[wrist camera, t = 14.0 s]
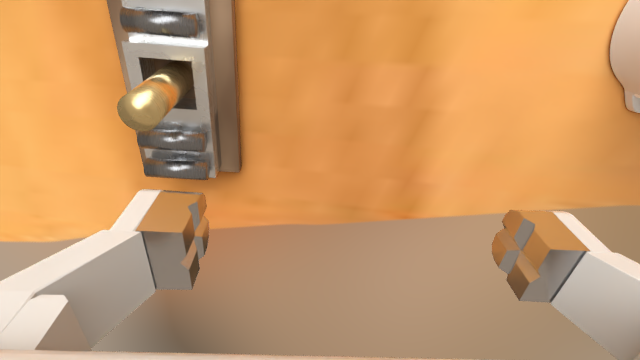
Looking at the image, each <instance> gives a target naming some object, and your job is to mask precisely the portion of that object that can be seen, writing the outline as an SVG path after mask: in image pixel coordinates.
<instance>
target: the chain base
mask: <svg viewBox="0 0 640 360" xmlns="http://www.w3.org/2000/svg"><path fill="white" fill-rule="evenodd" d="M107 4H108V9H109V13H110V18H111V22H112V27H113V31H114V36H115V40H116V45H117V49H118V54H119V58H120V63H121V67H122V72H123V76H124V81H125V85H126V90H127V93H128V92H130V91H131V90H132V89H131V84H130V80H129V75H128V70H127V66H126V61H125V56H124V52H123V47H122V41H124V40H126V39H128V38H129V36H128V33H127V32H125V31H124V30H123V28H122V26H121V23H120V10H121V8H122V7H123V6H122V1H121V0H107ZM209 10H210V23H211V35H212V48H213V61H214V73H215V86H216V99H217V111H218V124H219V137H220V149H221V162H222V164H221V167H220V169H219V171H224V172H240V169H241V143H240V120H239V97H238V74H237V50H236V27H235V4H234V0H209ZM153 61H154V67H155V73H156V72H157V71H158V70H160V69H161V68H162V67H164V66H165V65H166V64H168V63H169V62H171V61H174V60H169V59H156V58H153ZM180 61H181V60H180ZM183 62H185V63H187V64H188V65H189V66H190V67H191V68H192V61H183ZM182 98H192V99H196V97H195V88H194V85H193V86H192V88H191V89H190V90H189V91H188V92H187V93H186V94H185V95H184V96H183V97H182ZM136 135H138V131H137V130H136ZM139 148H140V147H139ZM140 153H141V157H142V162H143V166H144V163H145V160H146V155H145V150H144V148H140Z"/></svg>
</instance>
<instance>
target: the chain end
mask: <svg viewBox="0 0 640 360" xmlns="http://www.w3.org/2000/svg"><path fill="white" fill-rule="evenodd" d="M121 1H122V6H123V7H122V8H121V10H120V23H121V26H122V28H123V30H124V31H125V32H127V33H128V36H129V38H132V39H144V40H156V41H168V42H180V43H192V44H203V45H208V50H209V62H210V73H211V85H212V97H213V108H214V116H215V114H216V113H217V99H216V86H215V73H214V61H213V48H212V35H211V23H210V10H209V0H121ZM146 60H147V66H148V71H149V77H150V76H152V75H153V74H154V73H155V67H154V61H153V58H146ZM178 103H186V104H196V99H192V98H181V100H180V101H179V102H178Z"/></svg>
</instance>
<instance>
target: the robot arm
mask: <svg viewBox="0 0 640 360" xmlns="http://www.w3.org/2000/svg"><path fill="white" fill-rule="evenodd" d="M610 62H611V67H612V70H613V72H614V74H615V76H616V77H617V79H618V80H619V81H620V83H621V84H622V85H623V87H624V90H625V104H626V107H627V109H628V110H630V111H633V112H636V113H640V0H629V1H628V2H627V4H626V6H625V7H624V9H623V11H622V13H621V15H620V17H619V19H618V21H617V23H616V26H615V29H614V32H613V35H612V39H611V45H610ZM206 207H207V205H206V199H205V195H204V194H203V193H194V192H180V191H166V190H164V191H162V190H149V189H143V190H140V191H138V193H137V194H136V195H135V197H134V198H133V199H132V201H131V202H130V203H129V205H128V206H127V207H126V209H125V210H124V211H123V213H122V214H121V215H120V217H119V218H118V219H117V221H116V222H115V223H114V225H113V226H112V227H111V229H110V230H102V231H100V232H98V233H96V234H94V235H92V236H90V237H88V238H86V239H84V240H82V241H80V242H78V243H76V244H74V245H72V246H70V247H68V248H66V249H64V250H62V251H60V252H58V253H56V254H54V255H52V256H50V257H48V258H46V259H44V260H42V261H40V262H38V263H36V264H34V265H32V266H30V267H28V268H26V269H24V270H23V271H20V272H18V273H16V274H14V275H12V276H10V277H8V278H6V279H4V280H2V281H1V282H0V360H482V359H440V358H438V359H437V358H391V357H346V356H299V355H251V354H250V355H249V354H202V353H155V352H108V351H91V348H92V347H94V346H95V345H96V344H97V343H98V342H99V341H100V340H102V339H103V338H104V337H105V336H106V335H107V334H108V333H109V332H111V331H112V330H113V329H114V328H115V327H116V326H117V325H118V324H120V323H121V322H122V321H123V320H124V319H125V318H126V317H127V316H129V315H130V314H131V313H132V312H133V311H134V310H135V309H136V308H137V307H139V306H140V305H141V304H142V303H143V302H144V301H146V300H147V299H148V298H149V297H150V296H151V295H152V294H153V293H155V291H156V289H177V290H180V289H182V290H192V289H193V286H194V283H195V280H196V277H197V275H198V271H199V269H200V267H199V259H200V258H202V257H203V256H204V255H205V252H206V249H207V245H208V238H209V222H208V219H207V218H206V217H205V216H204V212H205V210H206ZM502 223H503V226H504V229H502V230H501V231H500V232H498V233H497V234H496V236H495V238H494V240H493V243H492V254H493V258H494V261H495V262H496V264H497V266H498V267H499V268H500V269H501V270H503V271H504V272H506V273H507V274H508V276H507V282H508V284H509V285H510V287H511V288H512V290H513V291H514V293H515V295H516V296H517V298H518V299H519V301H533V302H549V303H551V305H552V306H553V307H555V308H556V309H557V310H558V311H560V312H561V313H562V314H563V315H564V316H566V317H567V318H568V319H569V320H570V321H572V322H573V323H574V324H575V325H577V326H578V327H579V328H580V329H581V330H582V331H584V332H585V333H586V334H587V335H588V336H590V337H591V338H592V339H593V340H595V341H596V342H597V343H598V344H599V345H601V346H602V347H603V348H604V349H605V350H607V351H608V352H609V353H610V354H611V355H613V356H614V357H615V358H616V359H618V360H640V264H638V263H637V262H635V261H633V260H630V259H628V258H627V257H624V256H623V255H621V254H619V253H612V252H611V251H610V250H609V249H608V248H607V247H606V246H605V245H603V244H602V243H601V242H600V241H599V240H598V239H597V238H596V237H595V236H594V235H593V234H592V233H591V232H590V231H589V230H588V229H587V228H586V227H584V225H582V224H581V223H580V222H579V221H578V220H577V219H576V218H575V217H574V216H573V215H572V214H570V213H568V212H565V211H524V210H510V211H509V212H508V213H507V214H506V215H505V217H504V219H503V221H502ZM483 360H486V359H483Z"/></svg>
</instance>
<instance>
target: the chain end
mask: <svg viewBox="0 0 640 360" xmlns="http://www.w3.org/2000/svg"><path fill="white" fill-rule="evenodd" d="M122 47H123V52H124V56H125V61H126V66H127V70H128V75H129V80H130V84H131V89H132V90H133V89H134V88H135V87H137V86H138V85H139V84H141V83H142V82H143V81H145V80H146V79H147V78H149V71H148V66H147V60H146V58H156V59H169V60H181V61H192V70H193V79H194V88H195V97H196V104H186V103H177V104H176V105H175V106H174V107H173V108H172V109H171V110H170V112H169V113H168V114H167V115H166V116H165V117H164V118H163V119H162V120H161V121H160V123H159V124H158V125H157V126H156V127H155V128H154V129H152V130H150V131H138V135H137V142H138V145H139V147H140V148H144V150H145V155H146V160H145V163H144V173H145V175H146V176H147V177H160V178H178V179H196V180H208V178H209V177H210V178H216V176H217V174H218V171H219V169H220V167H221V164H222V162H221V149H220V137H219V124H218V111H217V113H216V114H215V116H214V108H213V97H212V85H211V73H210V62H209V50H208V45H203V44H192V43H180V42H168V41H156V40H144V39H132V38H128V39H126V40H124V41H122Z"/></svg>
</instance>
